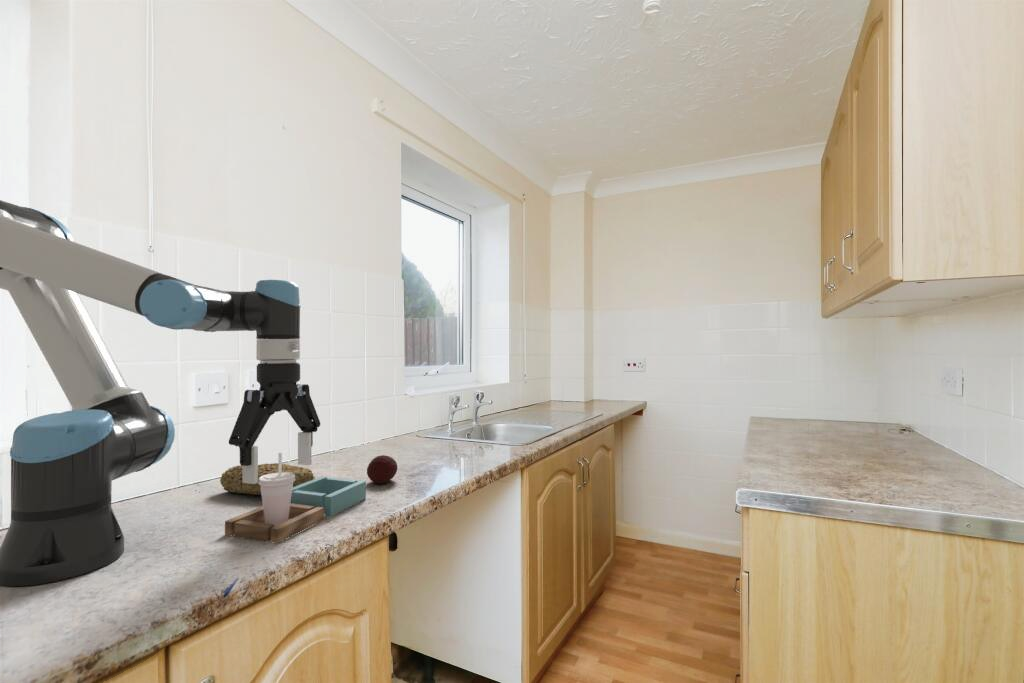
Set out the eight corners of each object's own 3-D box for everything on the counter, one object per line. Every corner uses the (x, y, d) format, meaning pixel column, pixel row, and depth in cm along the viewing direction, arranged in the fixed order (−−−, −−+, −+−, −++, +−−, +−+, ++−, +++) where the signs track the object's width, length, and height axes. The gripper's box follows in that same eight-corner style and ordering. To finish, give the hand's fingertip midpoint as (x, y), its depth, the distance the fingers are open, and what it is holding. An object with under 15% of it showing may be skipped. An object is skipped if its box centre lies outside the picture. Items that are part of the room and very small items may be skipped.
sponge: (213, 501, 111) (276, 494, 103) (215, 466, 113) (277, 457, 105) (263, 496, 122) (323, 489, 115) (264, 464, 124) (323, 456, 117)
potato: (401, 478, 127) (401, 451, 127) (391, 487, 118) (391, 458, 119) (374, 477, 127) (374, 450, 128) (362, 486, 119) (362, 458, 119)
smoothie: (302, 525, 93) (302, 452, 93) (270, 536, 88) (271, 459, 88) (282, 518, 97) (283, 448, 97) (250, 529, 91) (251, 454, 91)
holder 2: (330, 516, 98) (330, 496, 98) (282, 510, 102) (283, 491, 102) (365, 498, 109) (365, 481, 109) (321, 493, 113) (321, 476, 113)
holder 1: (277, 543, 85) (277, 529, 85) (224, 534, 88) (225, 521, 88) (324, 520, 96) (324, 507, 96) (275, 513, 100) (275, 501, 100)
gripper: (239, 364, 79) (239, 494, 79) (337, 359, 103) (338, 459, 103) (204, 364, 82) (205, 490, 82) (308, 359, 105) (309, 457, 105)
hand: (279, 473), depth 92 cm, fingers open, 13 cm apart
